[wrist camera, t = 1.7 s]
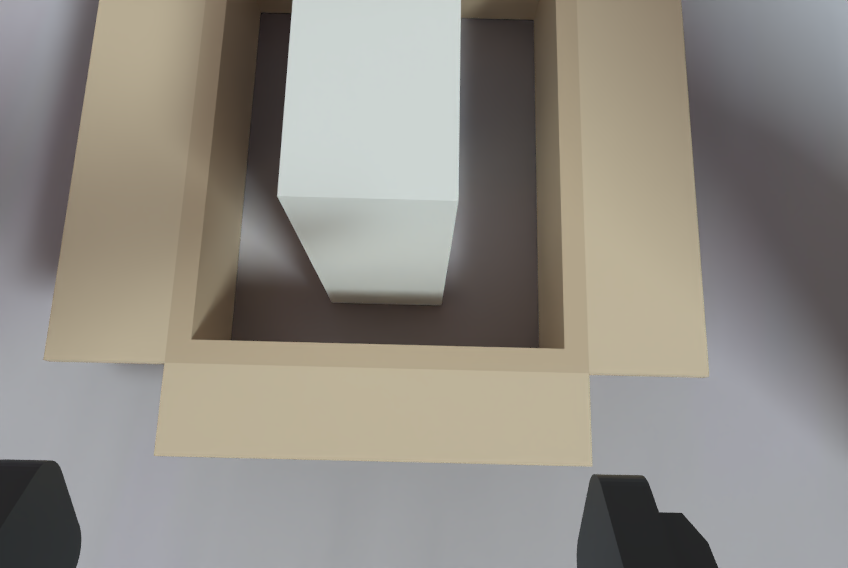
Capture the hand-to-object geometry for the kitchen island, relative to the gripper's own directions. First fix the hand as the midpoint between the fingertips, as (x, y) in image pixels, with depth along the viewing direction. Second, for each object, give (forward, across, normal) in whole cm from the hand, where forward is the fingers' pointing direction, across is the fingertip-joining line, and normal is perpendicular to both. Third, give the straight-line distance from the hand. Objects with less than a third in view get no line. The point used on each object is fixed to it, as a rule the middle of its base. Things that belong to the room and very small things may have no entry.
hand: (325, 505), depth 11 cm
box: (+21, 0, +3) cm, 21 cm away
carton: (+21, 0, +3) cm, 21 cm away
